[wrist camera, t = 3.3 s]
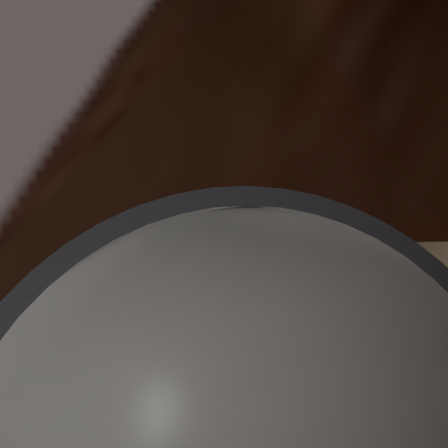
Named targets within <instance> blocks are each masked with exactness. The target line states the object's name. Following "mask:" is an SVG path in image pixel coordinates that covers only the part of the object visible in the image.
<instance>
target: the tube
mask: <svg viewBox="0 0 448 448" xmlns="http://www.w3.org/2000/svg"><path fill="white" fill-rule="evenodd" d="M0 448H448V267H447V266H445V265H444V264H443V263H442V262H441V261H440V260H438V259H437V258H436V257H435V256H433V255H432V254H431V253H429V252H428V251H427V250H426V249H424V248H423V247H422V246H421V245H419V244H418V243H417V242H415V241H414V240H413V239H411V238H409V237H408V236H406V235H404V234H403V233H401V232H400V231H398V230H396V229H395V228H393V227H391V226H390V225H388V224H387V223H385V222H383V221H381V220H379V219H377V218H375V217H373V216H370V215H368V214H366V213H364V212H362V211H360V210H358V209H355V208H353V207H351V206H348V205H345V204H342V203H339V202H336V201H333V200H330V199H327V198H324V197H321V196H318V195H313V194H308V193H303V192H298V191H293V190H288V189H282V188H269V187H255V186H236V187H217V188H207V189H201V190H196V191H190V192H185V193H179V194H174V195H171V196H167V197H164V198H161V199H158V200H154V201H151V202H148V203H145V204H142V205H138V206H136V207H134V208H132V209H129V210H127V211H125V212H123V213H120V214H118V215H116V216H114V217H112V218H109V219H107V220H105V221H103V222H101V223H99V224H97V225H96V226H94V227H93V228H91V229H89V230H88V231H86V232H84V233H83V234H81V235H79V236H78V237H76V238H74V239H73V240H71V241H69V242H68V243H66V244H65V245H64V246H62V247H61V248H60V249H58V250H57V251H56V252H55V253H53V254H52V255H51V256H50V257H48V258H47V259H46V260H44V261H43V262H42V263H41V264H39V265H38V266H37V267H36V268H34V269H33V270H32V271H31V272H30V273H29V274H28V275H27V276H26V277H25V278H24V279H23V280H22V281H21V282H20V283H19V284H18V285H17V286H16V287H15V288H14V289H13V290H12V291H11V292H10V293H9V294H8V295H7V296H6V297H5V298H4V299H3V300H2V301H1V302H0Z"/></svg>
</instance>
